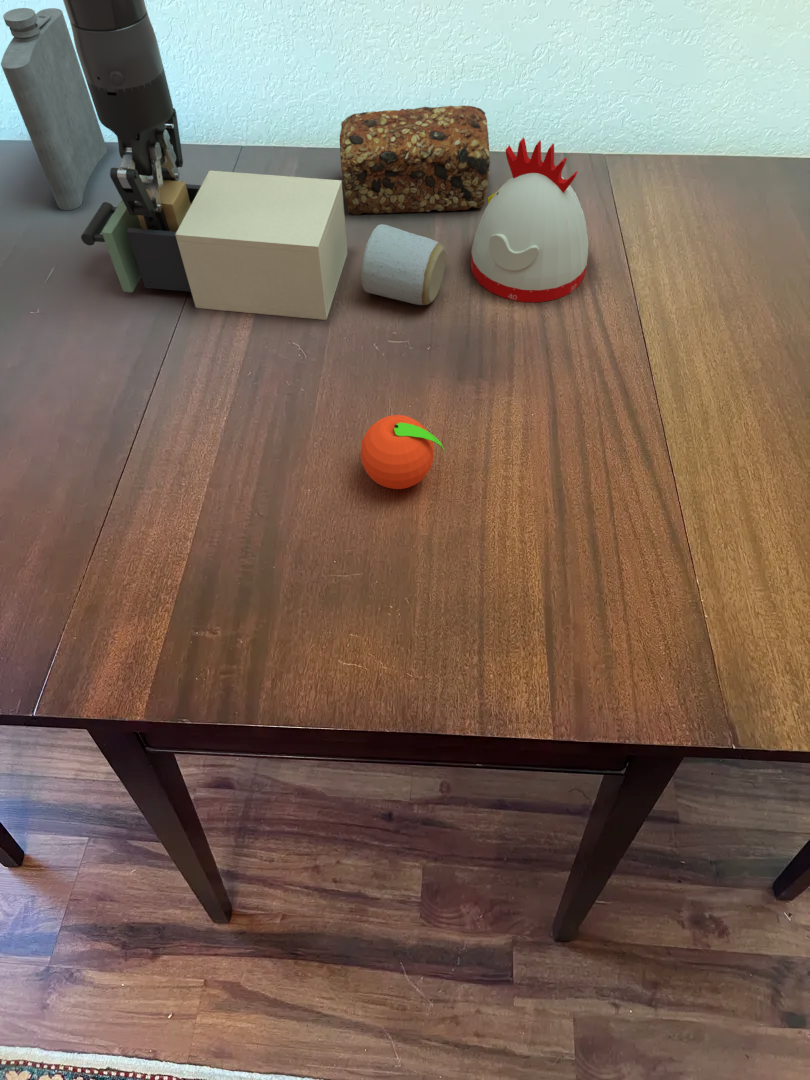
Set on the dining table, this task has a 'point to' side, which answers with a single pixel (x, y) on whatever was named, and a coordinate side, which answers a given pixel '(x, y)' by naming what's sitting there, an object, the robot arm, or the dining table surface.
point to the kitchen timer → (531, 232)
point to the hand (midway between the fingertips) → (168, 225)
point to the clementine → (397, 451)
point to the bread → (415, 160)
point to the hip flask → (53, 101)
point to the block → (171, 203)
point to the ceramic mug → (403, 265)
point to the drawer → (139, 248)
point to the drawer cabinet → (264, 244)
